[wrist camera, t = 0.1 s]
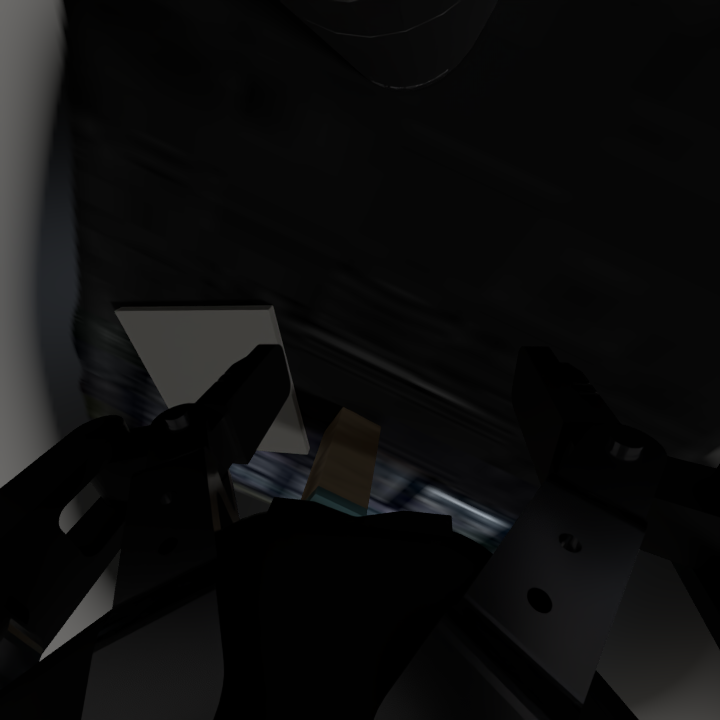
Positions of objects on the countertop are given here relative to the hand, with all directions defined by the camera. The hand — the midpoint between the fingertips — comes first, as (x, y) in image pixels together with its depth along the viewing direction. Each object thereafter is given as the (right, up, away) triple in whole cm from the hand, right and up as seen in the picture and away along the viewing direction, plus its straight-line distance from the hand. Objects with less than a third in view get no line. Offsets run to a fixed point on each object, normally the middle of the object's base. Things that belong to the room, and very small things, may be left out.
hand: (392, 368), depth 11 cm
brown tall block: (-2, -8, +27) cm, 29 cm away
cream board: (-17, -3, +27) cm, 32 cm away
